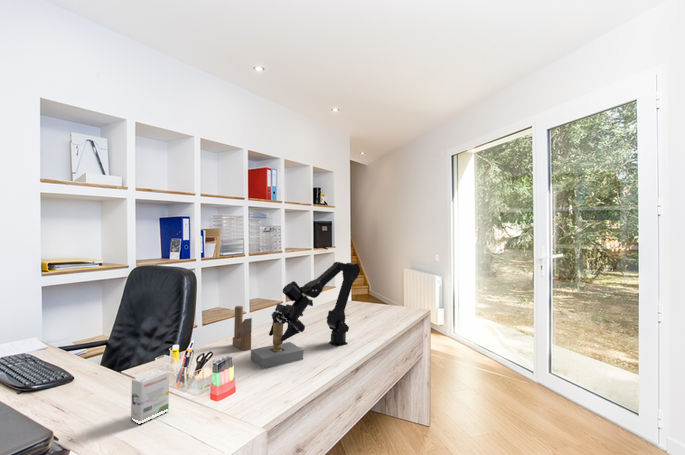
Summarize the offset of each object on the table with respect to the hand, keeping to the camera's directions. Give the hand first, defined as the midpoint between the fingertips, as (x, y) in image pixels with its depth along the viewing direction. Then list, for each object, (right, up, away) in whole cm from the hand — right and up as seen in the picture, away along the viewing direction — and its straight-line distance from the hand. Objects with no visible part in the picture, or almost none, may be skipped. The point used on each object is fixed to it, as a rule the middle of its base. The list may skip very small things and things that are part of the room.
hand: (275, 338), depth 143 cm
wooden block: (-18, -9, +14) cm, 25 cm away
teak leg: (+1, -8, +1) cm, 8 cm away
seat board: (+1, -9, +1) cm, 9 cm away
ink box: (-28, -9, -44) cm, 52 cm away
